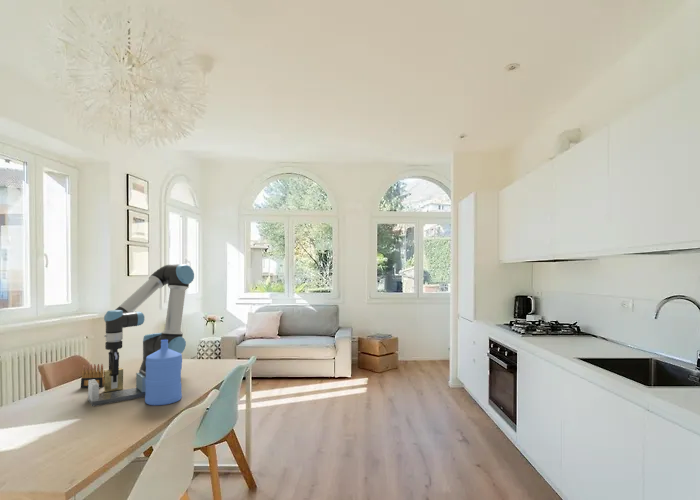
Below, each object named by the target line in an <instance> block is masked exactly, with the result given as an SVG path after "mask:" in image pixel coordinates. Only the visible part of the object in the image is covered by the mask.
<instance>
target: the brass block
mask: <svg viewBox="0 0 700 500" xmlns="http://www.w3.org/2000/svg"><path fill="white" fill-rule="evenodd" d="M103 372H104V387H103V393H108V392H114V391H120V390H124V368H123V367H119V374H118V386H117V388H115V389H111V376H110V375H112V369H110V370H109V369H103Z"/></svg>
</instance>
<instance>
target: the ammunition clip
mask: <svg viewBox="0 0 700 500" xmlns="http://www.w3.org/2000/svg"><path fill="white" fill-rule="evenodd" d="M81 370H82V371H81V378H80V379H81V380H80V389H88V380H92V379H95V380H96V381H97V383H98V384H99V387H100V388H104V365H103V363H101V365H100V364H99V363H98V364H97V366H96V364H90V366H89V364H88V363H87V364H86V365H85V364H83V365H82V369H81Z"/></svg>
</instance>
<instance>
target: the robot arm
mask: <svg viewBox="0 0 700 500" xmlns="http://www.w3.org/2000/svg"><path fill="white" fill-rule="evenodd" d="M194 279H195V273H194V269H193V268H192V267H191V266H190V265H188V264H181V263H180V264H178V263H177V264H166V265H163V266H162V267H160V268H158V269H157V270H156V271H154V272H152V274H151V275H150V276H149V277H148V280H146V282H145V283H143V284H142V285H141V286H140V287H139V288H137V290H136V291H134V292H133V293H132V294H131V295H130V296H129V297H127V299H125V300H124V301H123V302H122V303H121V304H120V305H119V306H118V307H117V308H115V309H112V310H107V311H106V312H105V315H104V317H103V319H104V320H103V321H104V322H105V334H104V335H103V336H104V337H103V338H105V345H104V346H105V350H108V351H109V352H108V370H110V369H112V375H110V376H111V389H115V388H117V386H118V374H119V368H120V365H119V364H120V352H119V351H118V350H121V349H122V348H123V336H124V335H123V330H124V329H125V328H131V327H138V326H141V325H143V324H144V323H145V314H144V313H143V312H141V311H136V310H137V309H138V308H139V307H140V306H142V304H143V303H144V302H145V301H147V300H148V299H149V298H150V297H151V296H152V295H154V294H155V292H156V291H157V290H158V289H162V288H163V287H164V286H166V285H167V287H168V288H169V295H168V303H167V309H166V318H165V326H164V330H163V331H161V332H154V333H149V334H145V335H143V338H142V339H143V340H142V362H141V364H140V368H139V370H143V371H144V372H146V357H147V356H148V355H150V354H152V353H154V352H156V351H158V350H160V349H161V340H168V348H169V349H171V350H173V351H176V352H179V353H181V354H182V353H184V351H185V348H186V346H187V343H186V340H185V338H184V337H183V333H184V332H182V331H181V329H182V321H183V312H184V305H185V295H186V291H187V289H189V287H190V284H192V282H194ZM138 373H140V372H139V371H138Z"/></svg>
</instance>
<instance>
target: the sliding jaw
mask: <svg viewBox="0 0 700 500" xmlns="http://www.w3.org/2000/svg"><path fill="white" fill-rule="evenodd" d="M139 372H140V373H139ZM135 375H136V377H135V388H138V389H139V390H140V391H141V392H145V391H146V385H145V379H146V372H144V371H143V370H140V369H139V371H138V372H136V373H135Z"/></svg>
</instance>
